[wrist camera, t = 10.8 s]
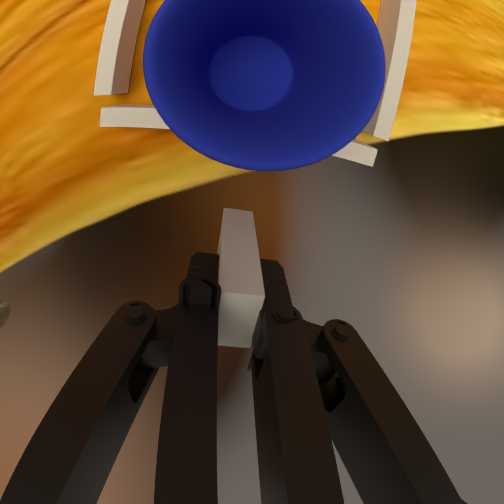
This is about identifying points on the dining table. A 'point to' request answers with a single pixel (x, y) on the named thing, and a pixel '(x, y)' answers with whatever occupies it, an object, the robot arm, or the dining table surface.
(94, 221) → the dining table surface
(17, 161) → the dining table surface
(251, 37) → the mug
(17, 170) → the dining table surface
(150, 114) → the beige rectangular bars
